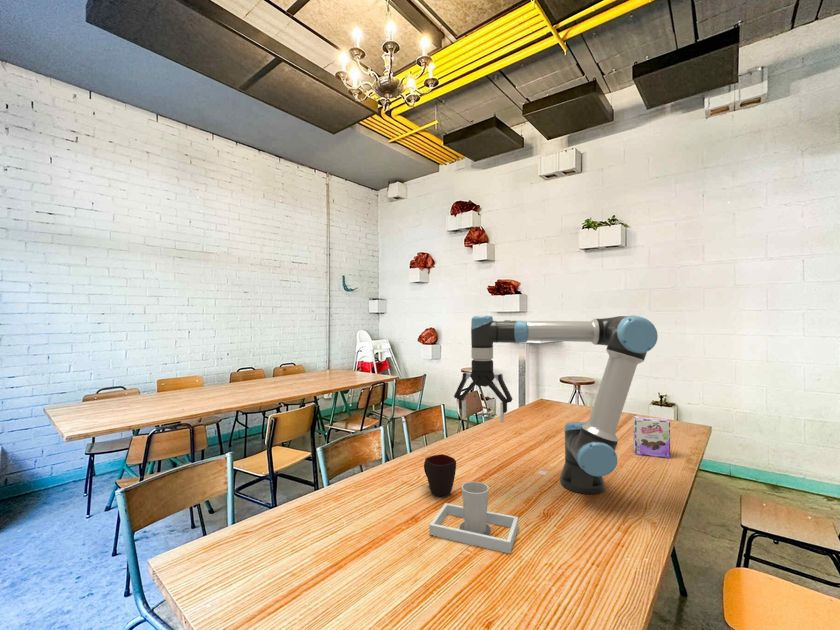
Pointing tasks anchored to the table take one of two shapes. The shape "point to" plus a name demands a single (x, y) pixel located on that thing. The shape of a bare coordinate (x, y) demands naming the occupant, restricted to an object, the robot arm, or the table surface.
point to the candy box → (651, 437)
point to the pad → (487, 532)
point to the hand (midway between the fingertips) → (482, 420)
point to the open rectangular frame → (473, 537)
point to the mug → (440, 474)
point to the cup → (475, 506)
